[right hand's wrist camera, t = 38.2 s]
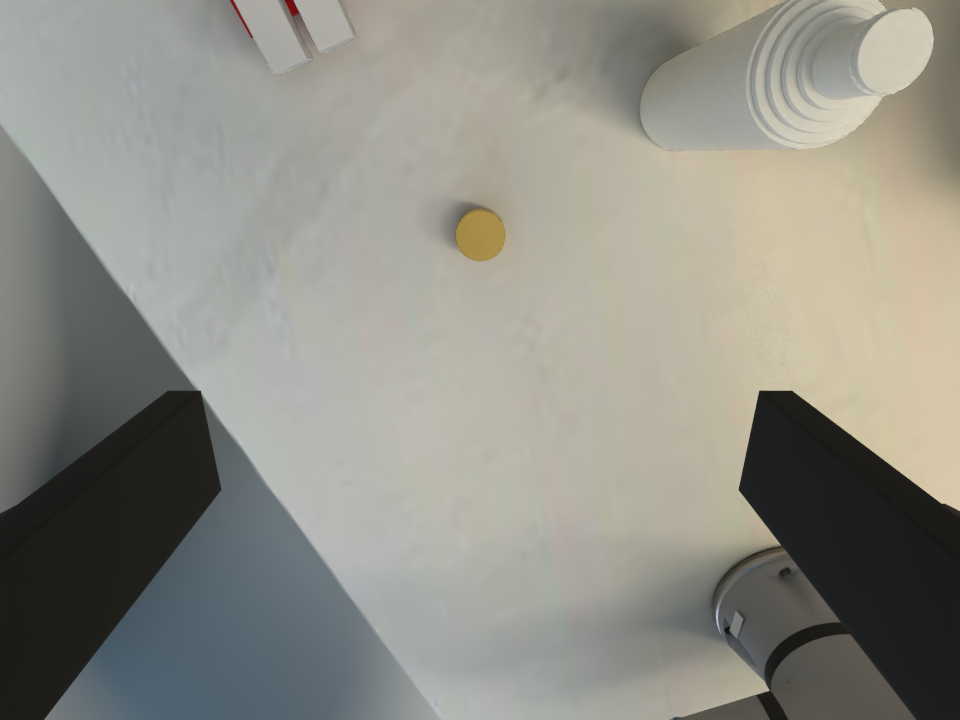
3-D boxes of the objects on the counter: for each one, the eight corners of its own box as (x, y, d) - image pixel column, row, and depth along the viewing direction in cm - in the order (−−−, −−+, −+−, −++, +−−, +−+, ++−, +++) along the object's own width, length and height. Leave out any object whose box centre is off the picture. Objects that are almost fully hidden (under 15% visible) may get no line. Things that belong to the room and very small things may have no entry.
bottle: (701, 163, 44) (916, 172, 23) (625, 133, 43) (770, 112, 22) (744, 74, 42) (1030, -14, 20) (663, 40, 41) (871, -90, 19)
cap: (512, 224, 46) (514, 227, 44) (488, 264, 47) (488, 270, 45) (472, 198, 45) (471, 200, 43) (448, 240, 47) (446, 244, 44)
